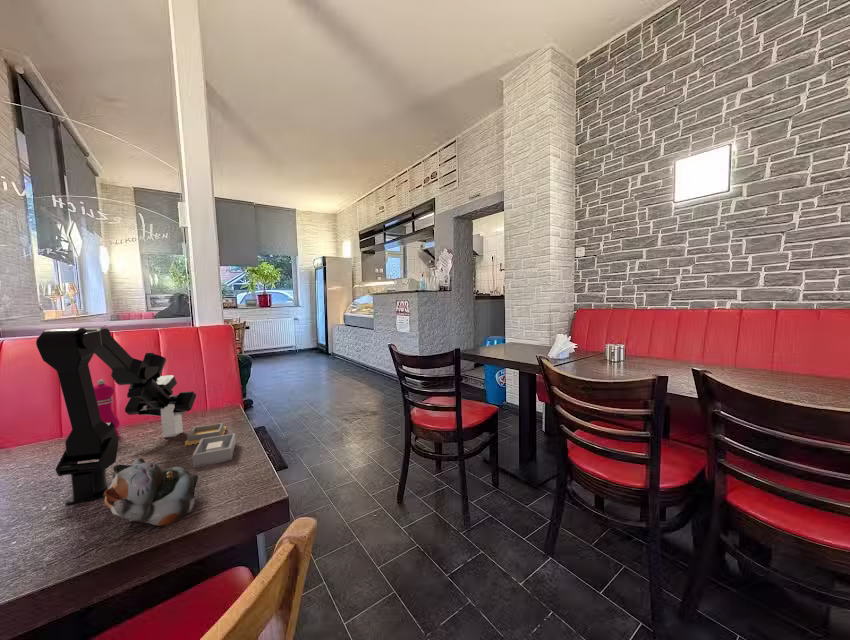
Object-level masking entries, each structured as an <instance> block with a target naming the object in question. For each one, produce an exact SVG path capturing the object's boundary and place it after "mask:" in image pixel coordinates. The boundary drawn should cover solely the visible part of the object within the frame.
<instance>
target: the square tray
mask: <svg viewBox="0 0 850 640" xmlns="http://www.w3.org/2000/svg"><path fill="white" fill-rule="evenodd" d="M225 430H227V426H224V422H219V423H213V424H208V425H207V424H206V425H201V426H194V427H192V429H191V431H190V432H189V434H188V435H187V439H186V440H185V441H184V446H185V447H187V445H188V446H192V444H194V445H198V444H197V443H199V442H200V440H201V439H203V438H209V437H215V436H221V435H225V434H224V433H226V431H225Z"/></svg>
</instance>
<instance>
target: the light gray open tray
mask: <svg viewBox="0 0 850 640" xmlns="http://www.w3.org/2000/svg"><path fill="white" fill-rule="evenodd" d="M235 445H237V438H236V432H234V433H233V432H232V433H228V434H224V435H221V436H215V437H209V438H203V439H201V440H200V442H199V444H197V446H196V447H195V449H194V451H193V454H192V467H193V468H199V467H204V466H209V465H216V464H220V463H221V464H222V463H225V461H226V462H230V460H231V461H232V460H233V457H234V453H235V450H236V449H235V448H236V446H235ZM234 449H235V450H234ZM232 456H233V457H232Z"/></svg>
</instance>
